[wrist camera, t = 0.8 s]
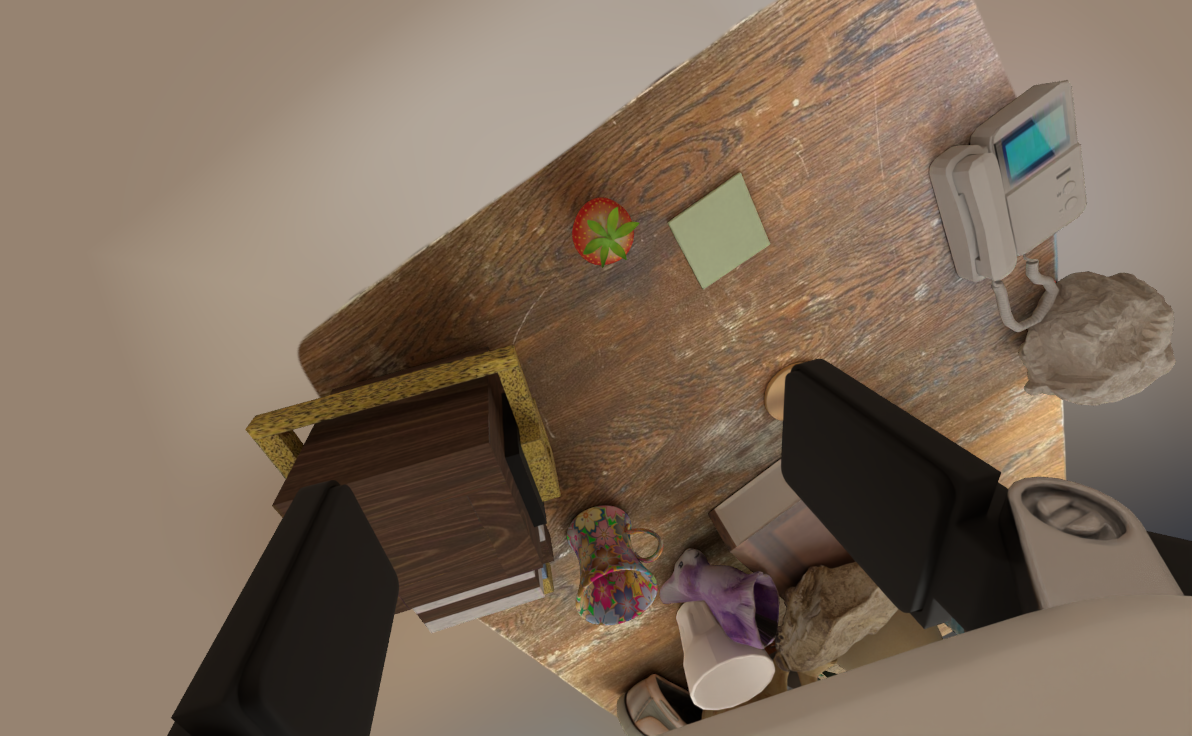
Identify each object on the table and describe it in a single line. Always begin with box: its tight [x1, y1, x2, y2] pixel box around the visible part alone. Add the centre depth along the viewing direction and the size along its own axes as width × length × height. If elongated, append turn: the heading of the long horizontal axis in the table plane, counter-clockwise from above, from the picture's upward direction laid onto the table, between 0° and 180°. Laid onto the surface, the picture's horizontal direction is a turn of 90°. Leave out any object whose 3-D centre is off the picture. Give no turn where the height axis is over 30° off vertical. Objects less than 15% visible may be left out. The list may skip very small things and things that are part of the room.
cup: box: [676, 600, 775, 710], centre depth 67 cm, size 12×12×11 cm
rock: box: [774, 562, 898, 672], centre depth 62 cm, size 16×10×20 cm
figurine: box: [660, 548, 779, 649], centre depth 62 cm, size 9×10×15 cm
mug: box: [567, 505, 663, 625], centre depth 54 cm, size 12×9×11 cm
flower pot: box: [837, 609, 943, 671], centre depth 72 cm, size 18×18×12 cm
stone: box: [1018, 271, 1176, 406], centre depth 55 cm, size 17×17×15 cm
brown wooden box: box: [246, 345, 561, 633], centre depth 44 cm, size 21×15×30 cm
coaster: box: [764, 362, 803, 421], centre depth 55 cm, size 8×8×1 cm
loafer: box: [617, 674, 703, 736], centre depth 78 cm, size 11×30×9 cm
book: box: [708, 459, 856, 601], centre depth 64 cm, size 24×28×6 cm
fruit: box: [572, 198, 639, 268], centre depth 38 cm, size 5×5×8 cm
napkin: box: [667, 173, 770, 289], centre depth 44 cm, size 8×8×1 cm
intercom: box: [929, 80, 1087, 332], centre depth 49 cm, size 13×4×25 cm
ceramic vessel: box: [701, 657, 838, 720], centre depth 68 cm, size 17×20×25 cm
